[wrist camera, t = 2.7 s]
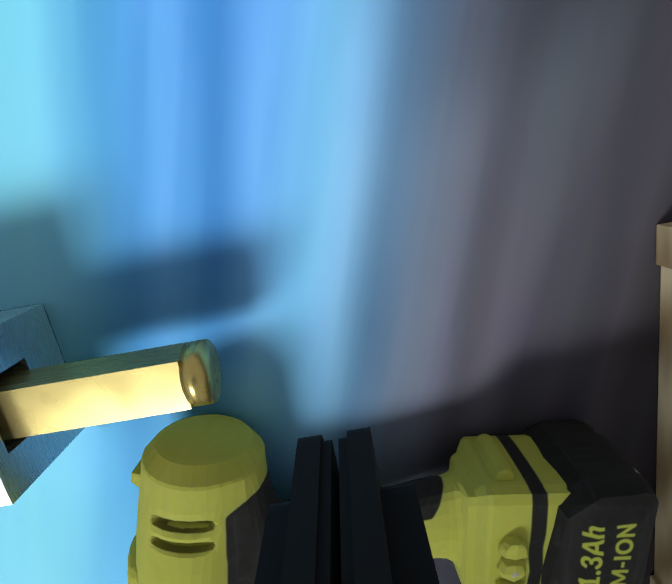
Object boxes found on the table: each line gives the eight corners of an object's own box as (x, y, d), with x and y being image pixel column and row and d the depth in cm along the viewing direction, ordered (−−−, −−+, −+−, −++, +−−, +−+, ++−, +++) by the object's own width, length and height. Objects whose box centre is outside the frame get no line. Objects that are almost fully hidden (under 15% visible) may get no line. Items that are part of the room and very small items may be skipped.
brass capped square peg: (225, 383, 21) (210, 416, 18) (27, 417, 22) (-16, 453, 19) (210, 329, 20) (192, 354, 18) (5, 365, 21) (-43, 395, 18)
